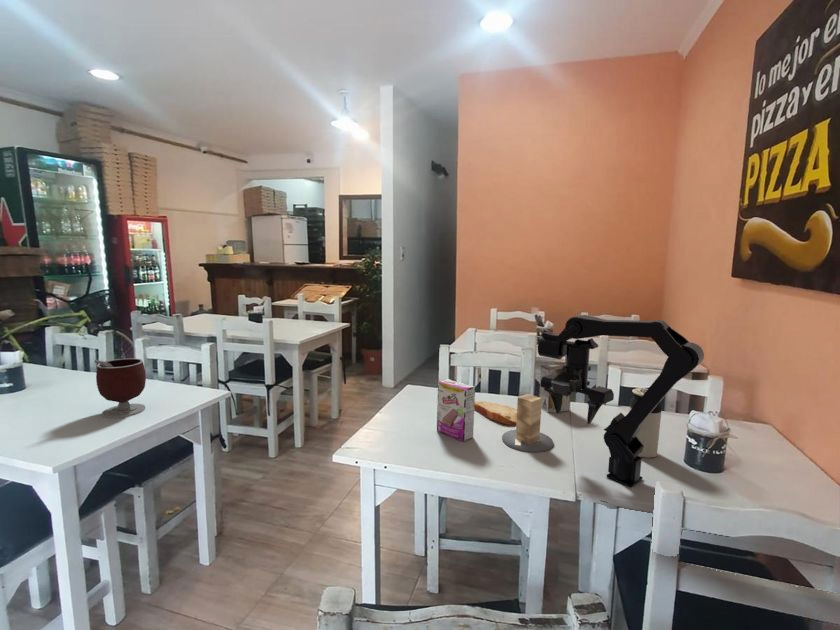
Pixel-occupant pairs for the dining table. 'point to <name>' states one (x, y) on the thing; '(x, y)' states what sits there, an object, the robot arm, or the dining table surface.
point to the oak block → (528, 418)
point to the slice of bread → (497, 412)
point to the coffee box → (546, 397)
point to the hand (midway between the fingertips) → (573, 418)
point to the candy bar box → (455, 409)
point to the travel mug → (648, 426)
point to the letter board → (537, 446)
